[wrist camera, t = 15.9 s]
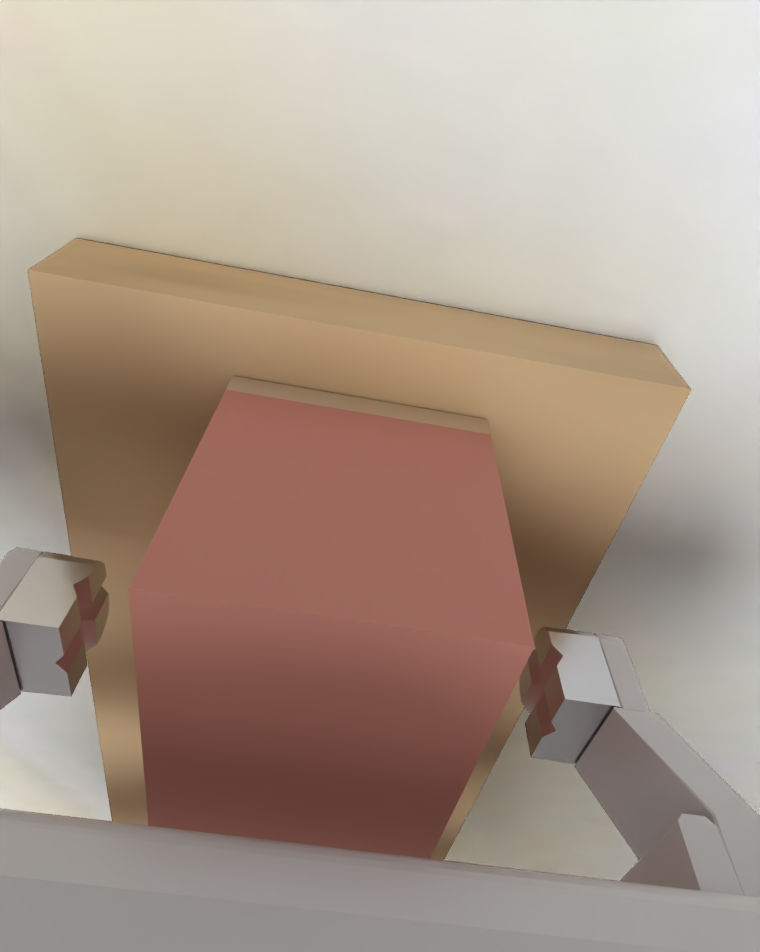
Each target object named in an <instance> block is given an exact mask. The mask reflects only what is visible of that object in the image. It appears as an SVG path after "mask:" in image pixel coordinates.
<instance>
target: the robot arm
mask: <svg viewBox="0 0 760 952" xmlns="http://www.w3.org/2000/svg"><path fill="white" fill-rule="evenodd" d="M106 576H107V575H106V569H105V563H103V562H101V561H97V560H91V559H85V558H79V557H74V556H68V555H62V554H56V553H50V552H42V551H36V550H31V549H25V548H19V547H16V548H14V549H13V550H11V551H9V552H8V553H7V554H6V555H5V557H4V558H3V559H2V561H1V562H0V710H1V709H2V708H3V707H5V706H6V705H7V704H8V703H10V702H11V701H12V700H14V699H15V698H16V697H17V696H19V695H20V694H21V692H20V691H25V692H34V693H44V694H53V695H63V696H72V694H73V692H74V690H75V688H76V686H77V684H78V682H79V680H80V678H81V676H82V674H83V672H84V670H85V668H86V666H87V659H86V651H87V650H89V649H91V648H92V647H94V646H95V645H97V644H98V642H99V640H100V638H101V636H102V634H103V631H104V628H105V625H106V621H107V618H108V613H109V593H108V592H107V591H106V590H105V589H104V588H103V587H102V584H103V582H104V580H105V578H106ZM534 642H535V647H536V649H535V650H533V651H532V653H531V655H530V657H529V659H528V661H527V663H526V665H525V667H524V669H523V671H522V673H521V675H520V678H519V690H520V697H521V703H522V704H523V705H524V707H525V708H526V709H527V710H528V711H529V713H530V716H529V718H528V720H527V721H526V723H525V727H526V732H527V738H528V744H529V749H530V755H531V757H533V758H539V759H546V760H552V761H558V762H564V763H571V764H576V765H575V766H574V767H575V768H576V769H577V771H578V772H579V774H580V775H581V777H582V778H583V780H584V781H585V783H586V784H587V785H588V787H589V788H590V790H591V791H592V793H593V794H594V796H595V797H596V798H597V800H598V801H599V803H600V804H601V806H602V807H603V809H604V810H605V811H606V813H607V814H608V816H609V817H610V819H611V820H612V822H613V823H614V824H615V826H616V827H617V829H618V830H619V832H620V833H621V835H622V836H623V838H624V839H625V840H626V842H627V843H628V845H629V846H630V848H631V849H632V851H633V852H634V853H635V855H636V856H637V858H638V859H639V860H638V862H637V863H636V864H635V865H634V866H633V867H632V868H631V869H630V870H629V871H628V872H627V873H626V875H625V876H624V877H623V878H622V879H621V880H620V881H614V880H605V879H597V878H588V877H580V876H571V875H563V874H554V873H546V872H537V871H529V870H520V869H512V868H503V867H495V866H486V865H478V864H470V863H461V862H453V861H444V860H436V859H427V858H419V857H410V856H402V855H393V854H385V853H377V852H368V851H360V850H351V849H343V848H334V847H326V846H317V845H309V844H300V843H292V842H283V841H275V840H266V839H257V838H249V837H240V836H232V835H223V834H215V833H206V832H198V831H189V830H181V829H172V828H164V827H155V826H146V825H138V824H129V823H121V822H112V821H104V820H95V819H87V818H78V817H70V816H61V815H53V814H44V813H36V812H27V811H19V810H10V809H2V808H0V952H760V816H759V815H758V814H757V813H756V812H755V811H754V810H753V809H752V808H751V807H750V806H749V805H748V804H747V803H746V802H745V801H744V800H743V799H742V798H741V797H740V796H739V795H738V794H737V793H736V792H735V791H734V790H733V789H732V788H731V787H730V786H729V785H728V784H727V783H726V782H725V781H724V780H723V779H722V778H721V777H720V776H719V775H718V774H717V773H716V772H715V771H714V770H713V769H712V768H711V767H710V766H709V765H708V764H707V763H706V762H705V761H704V760H703V759H702V758H701V757H700V756H699V754H698V753H697V752H696V751H695V750H694V749H693V748H692V747H691V746H690V745H689V744H688V743H687V742H686V741H685V740H684V739H683V738H682V737H681V736H680V735H679V734H678V733H677V732H676V731H675V730H674V729H673V728H672V727H671V726H670V725H669V724H668V723H667V722H666V721H665V720H664V719H663V718H662V717H661V716H660V715H659V714H657V713H652V712H650V711H649V708H648V705H647V702H646V700H645V697H644V694H643V691H642V689H641V686H640V683H639V680H638V678H637V675H636V672H635V669H634V667H633V664H632V661H631V659H630V656H629V653H628V650H627V648H626V645H625V642H624V641H623V640H622V639H621V638H620V637H615V636H608V635H601V634H592V633H588V632H581V631H573V630H566V629H559V628H551V627H544V626H543V627H542V628H541V629H539V630H538V632H537V634H536V636H535V638H534Z"/></svg>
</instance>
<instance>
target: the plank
mask: <svg viewBox="0 0 760 952" xmlns="http://www.w3.org/2000/svg"><path fill="white" fill-rule="evenodd" d="M28 276H29V283H30V289H31V296H32V302H33V309H34V315H35V322H36V328H37V335H38V341H39V348H40V354H41V361H42V367H43V374H44V380H45V387H46V393H47V400H48V407H49V413H50V420H51V426H52V433H53V439H54V446H55V452H56V459H57V465H58V472H59V478H60V485H61V491H62V498H63V504H64V511H65V517H66V524H67V530H68V537H69V543H70V550H71V556H74V557H79V558H85V559H91V560H97V561H101V562H103V563H105V569H106V575H107V576H106V578H105V580H104V582H103V584H102V587H103V588H104V589H105V590H106V591H107V592H108V593H109V613H108V618H107V621H106V625H105V628H104V631H103V634H102V636H101V638H100V640H99V642H98V644H97V645H95V646H94V647H92V648H91V649H89V650H87V651H86V654H87V661H88V667H89V674H90V680H91V687H92V693H93V700H94V707H95V713H96V720H97V726H98V733H99V739H100V746H101V752H102V759H103V765H104V772H105V778H106V785H107V791H108V798H109V804H110V811H111V817H112V822H121V823H129V824H138V825H146V826H149V825H148V813H147V801H146V790H145V778H144V766H143V754H142V743H141V731H140V719H139V707H138V696H137V684H136V672H135V661H134V649H133V637H132V625H131V614H130V602H129V590H128V588H129V586H130V584H131V581H132V579H133V577H134V575H135V573H136V571H137V569H138V567H139V565H140V563H141V561H142V559H143V557H144V555H145V553H146V551H147V549H148V547H149V545H150V543H151V541H152V539H153V537H154V535H155V533H156V531H157V529H158V527H159V525H160V523H161V520H162V518H163V516H164V514H165V512H166V510H167V508H168V506H169V504H170V502H171V500H172V498H173V496H174V494H175V492H176V490H177V488H178V486H179V484H180V482H181V480H182V478H183V476H184V474H185V472H186V470H187V468H188V466H189V464H190V462H191V459H192V457H193V455H194V453H195V451H196V449H197V447H198V445H199V443H200V441H201V439H202V437H203V435H204V433H205V431H206V429H207V427H208V425H209V423H210V421H211V419H212V417H213V415H214V413H215V411H216V409H217V407H218V405H219V403H220V401H221V398H222V396H223V394H224V392H225V390H226V388H227V386H228V384H229V382H230V380H231V378H232V376H237V377H242V378H248V379H254V380H260V381H266V382H272V383H278V384H283V385H289V386H295V387H301V388H307V389H313V390H318V391H324V392H330V393H336V394H342V395H348V396H354V397H359V398H365V399H371V400H377V401H383V402H389V403H394V404H400V405H406V406H412V407H418V408H424V409H430V410H435V411H441V412H447V413H453V414H459V415H465V416H470V417H476V418H482V419H488V424H489V429H490V434H491V439H492V443H493V448H494V453H495V458H496V463H497V468H498V472H499V477H500V482H501V487H502V492H503V497H504V501H505V506H506V511H507V516H508V521H509V526H510V530H511V535H512V540H513V545H514V550H515V555H516V559H517V564H518V569H519V574H520V579H521V584H522V588H523V593H524V598H525V603H526V608H527V613H528V617H529V622H530V627H531V632H532V637H533V642H534V638H535V636H536V634H537V632H538V630H539V629H541V628H542V627H543V626H544V627H551V628H559V629H566V627H567V625H568V623H569V621H570V619H571V617H572V616H573V614H574V612H575V610H576V608H577V606H578V604H579V602H580V600H581V598H582V596H583V595H584V593H585V591H586V589H587V587H588V585H589V583H590V581H591V579H592V577H593V576H594V574H595V572H596V570H597V568H598V566H599V564H600V562H601V560H602V558H603V557H604V555H605V553H606V551H607V549H608V547H609V545H610V543H611V541H612V539H613V538H614V536H615V534H616V532H617V530H618V528H619V526H620V524H621V522H622V520H623V519H624V517H625V515H626V513H627V511H628V509H629V507H630V505H631V503H632V501H633V499H634V498H635V496H636V494H637V492H638V490H639V488H640V486H641V484H642V482H643V480H644V479H645V477H646V475H647V473H648V471H649V469H650V467H651V465H652V463H653V461H654V460H655V458H656V456H657V454H658V452H659V450H660V448H661V446H662V444H663V442H664V441H665V439H666V437H667V435H668V433H669V431H670V429H671V427H672V425H673V423H674V422H675V420H676V418H677V416H678V414H679V412H680V410H681V408H682V406H683V404H684V402H685V401H686V399H687V397H688V395H689V393H690V391H691V388H690V387H689V386H688V384H687V383H686V382H685V380H684V379H683V378H682V377H681V375H680V374H679V373H678V372H677V370H676V369H675V368H674V366H673V365H672V364H671V363H670V361H669V360H668V359H667V357H666V356H665V355H664V354H663V352H662V351H661V350H660V348H659V347H658V346H657V345H652V344H647V343H641V342H636V341H631V340H625V339H620V338H614V337H609V336H604V335H598V334H593V333H587V332H582V331H576V330H571V329H566V328H560V327H555V326H549V325H544V324H539V323H533V322H528V321H522V320H517V319H511V318H506V317H501V316H495V315H490V314H484V313H479V312H474V311H468V310H463V309H457V308H452V307H446V306H441V305H436V304H430V303H425V302H419V301H414V300H409V299H403V298H398V297H392V296H387V295H381V294H376V293H371V292H365V291H360V290H354V289H349V288H344V287H338V286H333V285H327V284H322V283H317V282H311V281H306V280H300V279H295V278H289V277H284V276H279V275H273V274H268V273H262V272H257V271H252V270H246V269H241V268H235V267H230V266H224V265H219V264H214V263H208V262H203V261H197V260H192V259H187V258H181V257H176V256H170V255H165V254H159V253H154V252H149V251H143V250H138V249H132V248H127V247H122V246H116V245H111V244H105V243H100V242H94V241H89V240H84V239H78V238H76V239H74V240H73V241H71V242H70V243H68V244H67V245H65V246H63V247H62V248H60V249H59V250H57V251H56V252H54V253H53V254H51V255H50V256H48V257H47V258H45V259H43V260H42V261H40V262H39V263H37V264H36V265H34V266H33V267H31V268H30V269H28ZM534 646H535V642H534ZM535 649H536V647H534V649H533V650H535ZM519 678H520V677H519ZM523 709H524V705H523V704H522V703H521V697H520V690H519V679H518V681H517V683H516V685H515V687H514V689H513V691H512V693H511V695H510V697H509V699H508V701H507V703H506V705H505V707H504V709H503V711H502V714H501V716H500V718H499V720H498V722H497V724H496V726H495V728H494V730H493V732H492V734H491V736H490V738H489V740H488V742H487V744H486V746H485V748H484V750H483V752H482V754H481V756H480V758H479V760H478V762H477V764H476V766H475V768H474V770H473V772H472V774H471V776H470V778H469V780H468V782H467V784H466V786H465V789H464V791H463V793H462V795H461V797H460V799H459V801H458V803H457V805H456V807H455V809H454V811H453V813H452V815H451V817H450V819H449V821H448V823H447V825H446V827H445V829H444V831H443V833H442V835H441V837H440V839H439V841H438V843H437V845H436V847H435V849H434V851H433V853H432V855H431V857H430V859H436V860H444V859H445V857H446V855H447V853H448V851H449V849H450V848H451V846H452V844H453V842H454V840H455V838H456V836H457V834H458V832H459V830H460V829H461V827H462V825H463V823H464V821H465V819H466V817H467V815H468V813H469V811H470V809H471V808H472V806H473V804H474V802H475V800H476V798H477V796H478V794H479V792H480V790H481V789H482V787H483V785H484V783H485V781H486V779H487V777H488V775H489V773H490V771H491V770H492V768H493V766H494V764H495V762H496V760H497V758H498V756H499V754H500V752H501V751H502V749H503V747H504V745H505V743H506V741H507V739H508V737H509V735H510V733H511V732H512V730H513V728H514V726H515V724H516V722H517V720H518V718H519V716H520V714H521V712H522V711H523Z"/></svg>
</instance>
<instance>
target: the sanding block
mask: <svg viewBox="0 0 760 952" xmlns="http://www.w3.org/2000/svg"><path fill="white" fill-rule="evenodd" d="M128 590H129V602H130V614H131V625H132V637H133V649H134V661H135V672H136V684H137V696H138V707H139V719H140V731H141V743H142V754H143V766H144V778H145V790H146V801H147V813H148V825H149V826H155V827H164V828H172V829H181V830H189V831H198V832H206V833H215V834H223V835H232V836H240V837H249V838H257V839H266V840H275V841H283V842H292V843H300V844H309V845H317V846H326V847H334V848H343V849H351V850H360V851H368V852H377V853H385V854H393V855H402V856H410V857H419V858H427V859H430V857H431V855H432V853H433V851H434V849H435V847H436V845H437V843H438V841H439V839H440V837H441V835H442V833H443V831H444V829H445V827H446V825H447V823H448V821H449V819H450V817H451V815H452V813H453V811H454V809H455V807H456V805H457V803H458V801H459V799H460V797H461V795H462V793H463V791H464V789H465V786H466V784H467V782H468V780H469V778H470V776H471V774H472V772H473V770H474V768H475V766H476V764H477V762H478V760H479V758H480V756H481V754H482V752H483V750H484V748H485V746H486V744H487V742H488V740H489V738H490V736H491V734H492V732H493V730H494V728H495V726H496V724H497V722H498V720H499V718H500V716H501V714H502V711H503V709H504V707H505V705H506V703H507V701H508V699H509V697H510V695H511V693H512V691H513V689H514V687H515V685H516V683H517V681H518V679H519V677H520V675H521V673H522V671H523V669H524V667H525V665H526V663H527V661H528V659H529V657H530V655H531V653H532V651H533V649H534V647H535V646H534V642H533V637H532V632H531V627H530V622H529V617H528V613H527V608H526V603H525V598H524V593H523V588H522V584H521V579H520V574H519V569H518V564H517V559H516V555H515V550H514V545H513V540H512V535H511V530H510V526H509V521H508V516H507V511H506V506H505V501H504V497H503V492H502V487H501V482H500V477H499V472H498V468H497V463H496V458H495V453H494V448H493V443H492V439H491V434H490V429H489V424H488V419H482V418H476V417H470V416H465V415H459V414H453V413H447V412H441V411H435V410H430V409H424V408H418V407H412V406H406V405H400V404H394V403H389V402H383V401H377V400H371V399H365V398H359V397H354V396H348V395H342V394H336V393H330V392H324V391H318V390H313V389H307V388H301V387H295V386H289V385H283V384H278V383H272V382H266V381H260V380H254V379H248V378H242V377H237V376H232V378H231V380H230V382H229V384H228V386H227V388H226V390H225V392H224V394H223V396H222V398H221V401H220V403H219V405H218V407H217V409H216V411H215V413H214V415H213V417H212V419H211V421H210V423H209V425H208V427H207V429H206V431H205V433H204V435H203V437H202V439H201V441H200V443H199V445H198V447H197V449H196V451H195V453H194V455H193V457H192V459H191V462H190V464H189V466H188V468H187V470H186V472H185V474H184V476H183V478H182V480H181V482H180V484H179V486H178V488H177V490H176V492H175V494H174V496H173V498H172V500H171V502H170V504H169V506H168V508H167V510H166V512H165V514H164V516H163V518H162V520H161V523H160V525H159V527H158V529H157V531H156V533H155V535H154V537H153V539H152V541H151V543H150V545H149V547H148V549H147V551H146V553H145V555H144V557H143V559H142V561H141V563H140V565H139V567H138V569H137V571H136V573H135V575H134V577H133V579H132V581H131V584H130V586H129V588H128Z"/></svg>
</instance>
